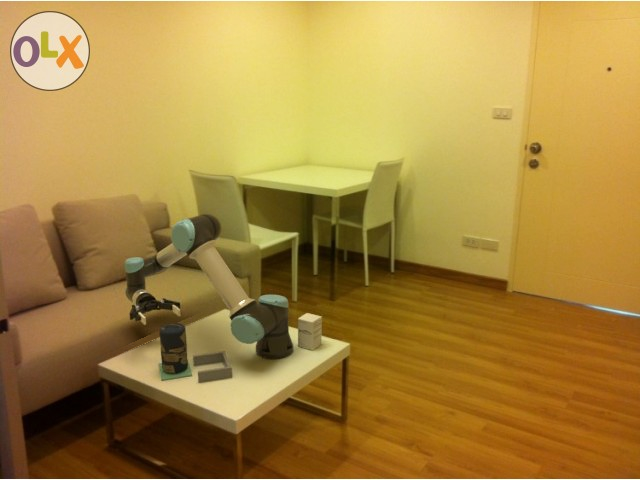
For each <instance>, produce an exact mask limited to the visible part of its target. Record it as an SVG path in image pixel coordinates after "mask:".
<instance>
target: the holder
mask: <svg viewBox="0 0 640 480" xmlns="http://www.w3.org/2000/svg"><path fill="white" fill-rule="evenodd" d="M218 363H222V364H223V366H224V367H223V366H221V367H217V368H210V369H204V370H197V382H198V384H201V383H205V382H212V381H218V380H226V379H232V378H233V368H232V365H231V362H230V360H229V358H228V355H227V353H226V351H225V350H221V351H214V352H206V353H201V354H194V355H192V364H193V367H198V366H199V367H200V366H205V365H212V364H218Z"/></svg>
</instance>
